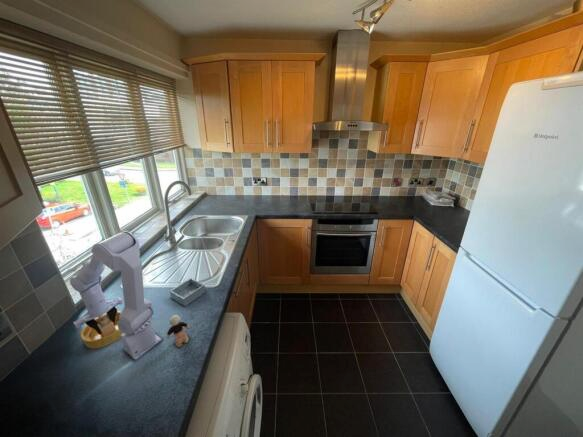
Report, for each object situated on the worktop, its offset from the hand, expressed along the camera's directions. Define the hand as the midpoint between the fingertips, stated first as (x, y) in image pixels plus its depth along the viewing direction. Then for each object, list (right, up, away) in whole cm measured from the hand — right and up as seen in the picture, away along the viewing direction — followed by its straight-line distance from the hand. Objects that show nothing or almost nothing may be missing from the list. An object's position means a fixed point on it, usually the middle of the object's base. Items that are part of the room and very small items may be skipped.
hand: (106, 328), depth 90 cm
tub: (+23, +6, +20) cm, 31 cm away
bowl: (0, -2, +1) cm, 2 cm away
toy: (0, -2, +1) cm, 2 cm away
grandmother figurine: (+30, -4, -3) cm, 31 cm away
